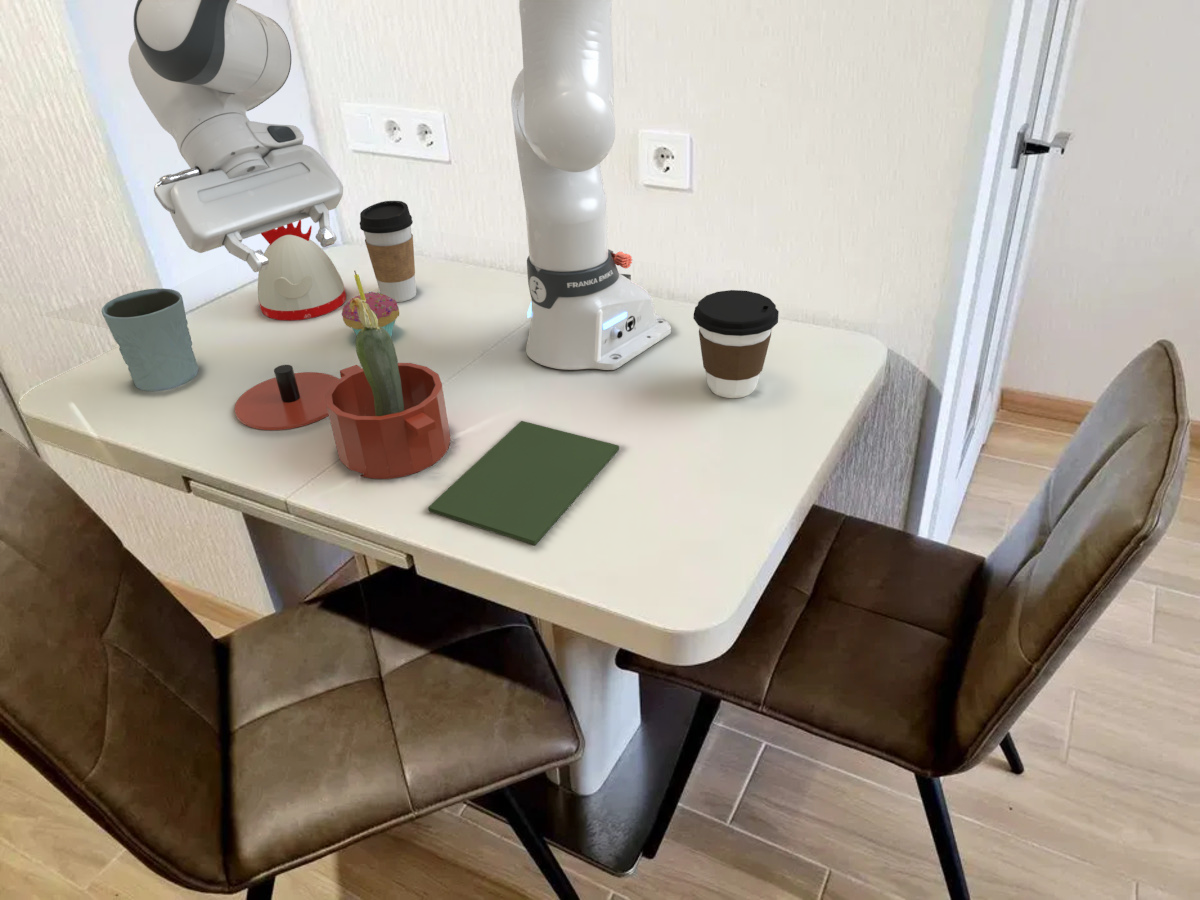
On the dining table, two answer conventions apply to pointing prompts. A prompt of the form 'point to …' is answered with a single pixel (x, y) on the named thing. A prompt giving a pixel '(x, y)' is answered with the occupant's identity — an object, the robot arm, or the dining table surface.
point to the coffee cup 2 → (734, 339)
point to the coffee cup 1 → (390, 248)
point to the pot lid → (285, 400)
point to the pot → (389, 424)
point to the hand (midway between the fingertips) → (297, 255)
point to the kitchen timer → (297, 277)
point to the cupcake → (378, 304)
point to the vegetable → (378, 361)
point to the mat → (525, 481)
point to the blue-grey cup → (153, 337)
